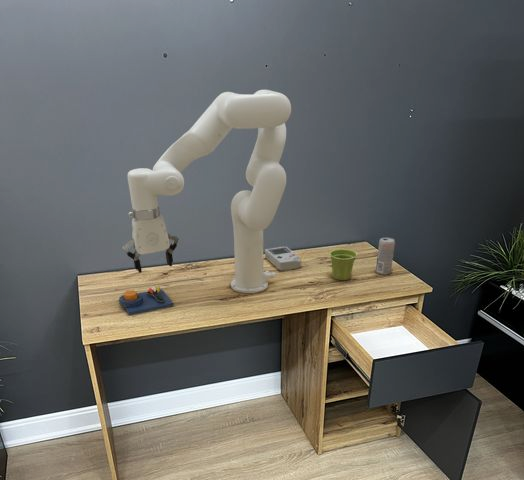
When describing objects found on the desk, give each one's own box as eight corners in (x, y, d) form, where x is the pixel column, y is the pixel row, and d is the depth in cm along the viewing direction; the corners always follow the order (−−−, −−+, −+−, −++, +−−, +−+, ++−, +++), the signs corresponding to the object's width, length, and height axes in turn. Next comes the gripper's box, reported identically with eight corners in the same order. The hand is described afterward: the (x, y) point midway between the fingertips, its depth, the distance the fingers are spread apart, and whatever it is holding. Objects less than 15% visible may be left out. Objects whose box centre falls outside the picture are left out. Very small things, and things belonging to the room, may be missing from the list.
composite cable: (166, 302, 161) (165, 295, 160) (151, 305, 159) (150, 298, 158) (159, 290, 169) (158, 283, 167) (145, 293, 167) (144, 286, 166)
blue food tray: (161, 292, 171) (160, 283, 169) (173, 306, 162) (172, 297, 160) (116, 300, 165) (115, 292, 163) (126, 316, 156) (124, 307, 154)
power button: (135, 295, 163) (134, 289, 162) (139, 299, 160) (138, 294, 159) (123, 297, 161) (122, 291, 160) (126, 302, 158) (125, 296, 157)
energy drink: (386, 268, 187) (390, 236, 181) (393, 273, 183) (398, 241, 177) (372, 270, 186) (376, 238, 180) (380, 275, 182) (384, 243, 175)
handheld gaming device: (280, 272, 185) (280, 262, 183) (264, 258, 197) (264, 248, 195) (302, 268, 188) (302, 258, 186) (285, 255, 199) (286, 245, 197)
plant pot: (336, 284, 175) (338, 260, 171) (323, 274, 183) (324, 251, 178) (360, 279, 179) (362, 256, 174) (345, 270, 186) (347, 247, 181)
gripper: (120, 221, 144) (130, 278, 153) (178, 211, 150) (185, 266, 159) (114, 214, 150) (124, 269, 159) (170, 205, 156) (177, 258, 165)
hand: (154, 268), depth 159 cm, fingers open, 9 cm apart
